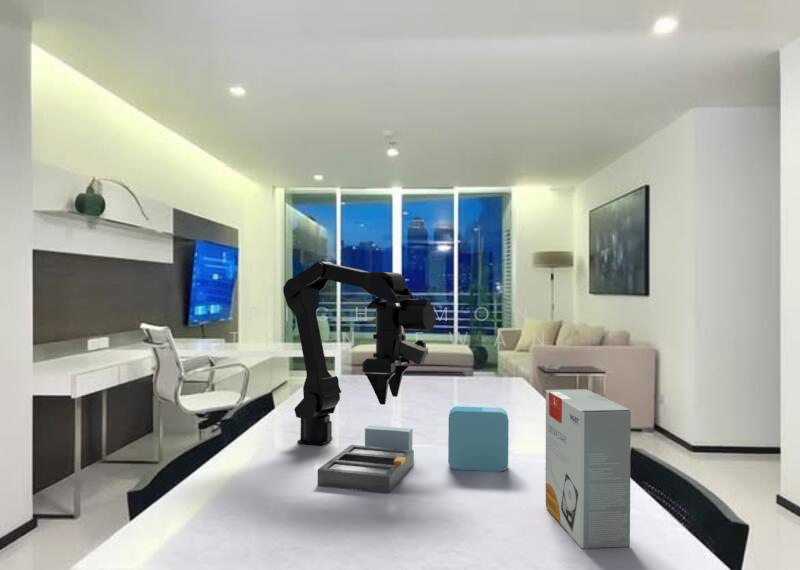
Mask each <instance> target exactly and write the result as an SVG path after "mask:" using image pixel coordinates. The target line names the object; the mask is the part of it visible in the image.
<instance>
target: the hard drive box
mask: <svg viewBox="0 0 800 570" xmlns="http://www.w3.org/2000/svg"><path fill="white" fill-rule="evenodd" d="M631 413H632V411H631V409H630V408H626V407H625V406H623V405H621V404H619V403H617V402H614V401H612V400H611V399H608V398H606V397H603V396H601V395H600V394H597V393H595V392H593V391H591V390H589V389H585V388H584V389H580V388H579V389H577V388H576V389H573V388H572V389H545V507H546V508H547V509H548V511H549V512H550V514H551V515H552V517H553V518H554V519H556V520H557V521H558V523H559V524H561V527H563V528H564V530H565V531H566V532H567V533H568V535H569V537H570V538H571V539H573V541H575V543H576V544H577V545H578V546H579V547H580V548H581V549H596V548H598V549H599V548H602V549H603V548H625V547H626V548H627V547H628V548H629V547H630V545H631V543H630V542H631V445H632V444H631V440H632V439H631V433H632V432H631V428H632V427H631V424H632V423H631V421H632V420H631V415H632V414H631Z"/></svg>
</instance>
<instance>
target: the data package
mask: <svg viewBox="0 0 800 570" xmlns="http://www.w3.org/2000/svg"><path fill="white" fill-rule="evenodd" d="M447 443H448V445H447V446H448V450H447V451H448V454H447V455H448V456H447V460H448V465H449V467H450V468H452V469H453V470H458V471H476V472H477V471H481V472H499V473H500V472H505V471H506V470H507V468H508V467H509V416H508V413H507V411H506V410H505V409H504V408H501V407H485V406H483V407H482V406H462V405H461V406H460V405H459V406H457V405H456V406H453V407H452V408H451V409H450V410H449V414H448V442H447Z"/></svg>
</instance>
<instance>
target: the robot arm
mask: <svg viewBox="0 0 800 570" xmlns="http://www.w3.org/2000/svg"><path fill="white" fill-rule="evenodd" d="M329 281H332V282H336V283H340V284H344V285H349V286H353V287H357V288H359V289H362V290H364V292H367V294H370V295H371V296H374V298H373V300H372V301H370V302H369V304H367V306H366V307H367V309H375V333H374V334H372V339H373V340H375V352H374V353H372V354H373V355H372V356H371V357H368V358H365V360H363V362H362V364H361V367H362V369H361V370H362V371H361V373H364V375H365V376H366V377H367V379H368V382H369V383H370V385H371V388H372V389H373V392H374V394H375V397H376V398H377V400H378V403H379V404H380V405H386V403H387V397H388V391H389V390H390V393H391V396H392V397H394V398H396V397H398V395H399V391H400V388H401V383H402V380H403V375H404V373H405V372H406V370H408V369H410V367H411V366H412V365H411V364H415V365H419V366H420V365H422V364H424V363H425V360H426V358H427V355H429V348H428V347H427V344H426V343H427V342H426V341H425V340H422V339H418V340H417V341H415V342H413V341H409V340H407V339H406V337H407V335H406V334H405V333H404V332H403V329H404V330H406V331H425V332H427V331H433V329H434V327H435V325H436V319H437V313H436V311H435V309H434V306H433V304H432V300H431V298H419V299H418V298H417V299H416V298H415V297H414V295H413V294H412V292H411V291H410V289H409V288H408V286H407V283H406V280H405V278H404V275H402V273H399V272H391V271H390V272H387V271H366V270H363V269H358V268H353V267H348V266H344V265H339V264H336V263H333V262H331V261H322V260H321V261H319V260H318V261H316V262H315V263H314V264H312V265H311V266H310V267H307V269H305V270H303V271H301V272H299V273H297V274H296V275H294V277H292V278H289V279H288V280H287V281H285V283H284V285H283V287H282V288H283V289H282V291H283V295H284V296H283V297H284V299H285V303H286V305H287V307H288V308H289V310H290V311H291V313H293V314H294V316H295V318H296V319H295V320H296V325H297V330H298V336H299V340H300V346H301V351H302V356H303V361H304V366H305V372H306V375H305V376H306V377H305V380H304V384H303V387H302V392H303V398H302V399H301V401H300V402H299V403H298V404H297V405H296V406H295V407H294V413H295V416H296V418H297V419H300V439H298V440H297V441H296V442H297V444H302V445H303V444H304V445H314V446H323V445H325V444H327V443H328V442H330V441H331V440H332V439H333V436H332V434H333V433H332V431H333V430H332V429H333V428H332V425H333V424H332V423H333V422H332V421H331V415H330V414H334V413H335V409H336V406H337V405H338V404H339V401H340V399H341V393H342V390H341V388H340V382H339V377H338V376H337V375H334V376H332V375H331V373H330V372H329V370H328V368H327V362H326V356H325V351H324V348H323V342H322V337H321V331H320V327H319V321H318V316H317V309H318V308H319V307H318V306H319V303H320V292H321V291H323V290H324V289H325V288H326V287H327V285H328V284H329ZM397 304H399V305H397ZM388 389H389V390H388Z"/></svg>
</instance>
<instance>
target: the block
mask: <svg viewBox="0 0 800 570" xmlns="http://www.w3.org/2000/svg"><path fill="white" fill-rule="evenodd" d="M364 446H371V447H383V448H394V449H405V450H413V428H409V427H396V426H382V425H371V424H370V425H368V426H366V427H365V428H364Z"/></svg>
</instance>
